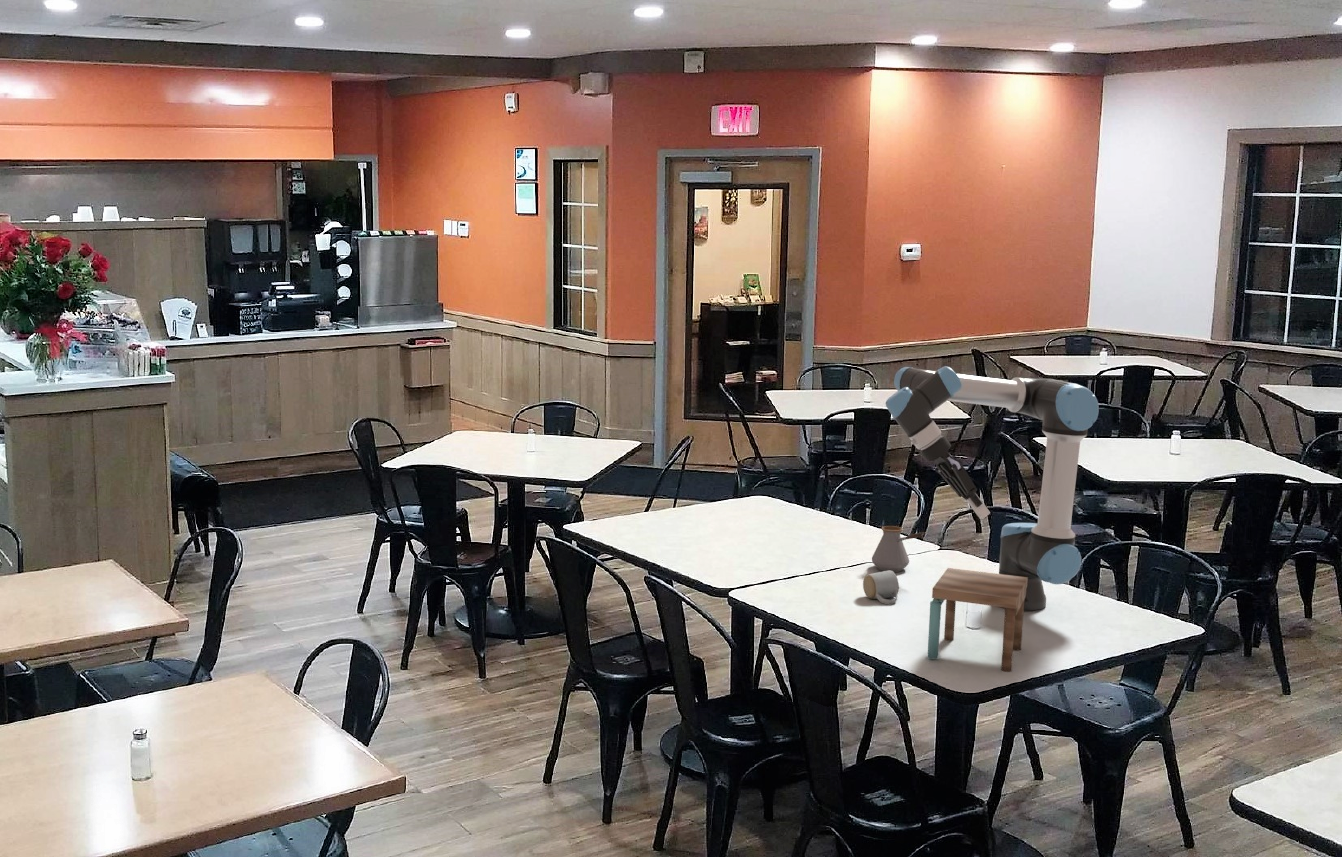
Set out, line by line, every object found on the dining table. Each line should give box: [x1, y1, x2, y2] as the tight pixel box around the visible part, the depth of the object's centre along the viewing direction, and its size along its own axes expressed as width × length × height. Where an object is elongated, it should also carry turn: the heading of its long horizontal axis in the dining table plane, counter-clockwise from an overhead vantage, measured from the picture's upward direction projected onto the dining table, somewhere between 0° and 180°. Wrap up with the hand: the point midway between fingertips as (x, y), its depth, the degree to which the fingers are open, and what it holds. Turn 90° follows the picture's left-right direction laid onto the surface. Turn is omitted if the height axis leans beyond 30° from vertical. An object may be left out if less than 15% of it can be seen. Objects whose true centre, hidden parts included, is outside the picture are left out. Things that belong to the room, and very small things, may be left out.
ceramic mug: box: [862, 570, 900, 605], centre depth 368 cm, size 11×8×8 cm
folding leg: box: [927, 598, 945, 660], centre depth 325 cm, size 16×3×15 cm, turn 158°
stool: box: [931, 567, 1028, 673], centre depth 323 cm, size 20×20×18 cm
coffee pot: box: [871, 525, 929, 573], centre depth 395 cm, size 21×12×15 cm, turn 30°
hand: (985, 516), depth 332 cm, fingers closed
